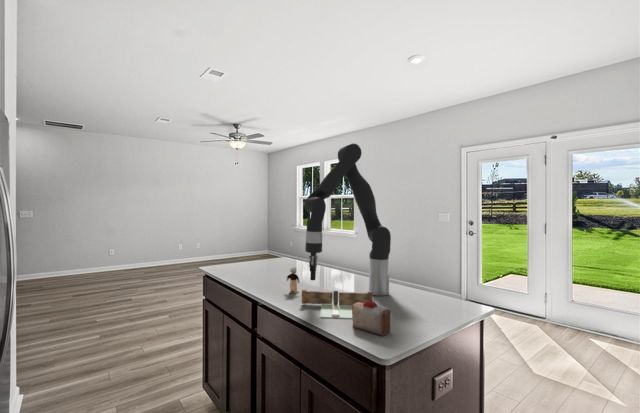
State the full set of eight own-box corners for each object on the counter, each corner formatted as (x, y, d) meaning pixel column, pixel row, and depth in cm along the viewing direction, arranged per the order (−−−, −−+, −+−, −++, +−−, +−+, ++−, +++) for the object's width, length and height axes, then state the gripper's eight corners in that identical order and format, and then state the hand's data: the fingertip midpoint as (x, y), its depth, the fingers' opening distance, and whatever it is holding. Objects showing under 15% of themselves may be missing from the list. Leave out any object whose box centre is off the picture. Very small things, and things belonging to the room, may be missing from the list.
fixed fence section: (372, 305, 137) (372, 291, 137) (372, 306, 135) (372, 292, 134) (338, 304, 137) (339, 290, 137) (338, 305, 135) (339, 291, 135)
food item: (348, 327, 113) (348, 299, 113) (360, 321, 119) (360, 295, 119) (381, 338, 104) (382, 308, 104) (393, 331, 110) (394, 302, 110)
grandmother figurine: (301, 292, 157) (302, 266, 157) (298, 294, 153) (299, 267, 153) (287, 290, 160) (287, 265, 159) (284, 292, 156) (284, 266, 156)
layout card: (373, 302, 142) (373, 301, 142) (380, 319, 120) (380, 318, 120) (322, 301, 143) (322, 300, 143) (319, 318, 122) (319, 316, 122)
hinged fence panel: (337, 303, 137) (338, 290, 137) (338, 304, 135) (338, 291, 135) (301, 302, 138) (302, 289, 138) (301, 303, 136) (301, 290, 136)
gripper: (321, 243, 136) (320, 283, 136) (323, 240, 149) (322, 276, 149) (304, 242, 137) (302, 283, 137) (307, 239, 150) (306, 276, 150)
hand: (312, 279), depth 143 cm, fingers closed
